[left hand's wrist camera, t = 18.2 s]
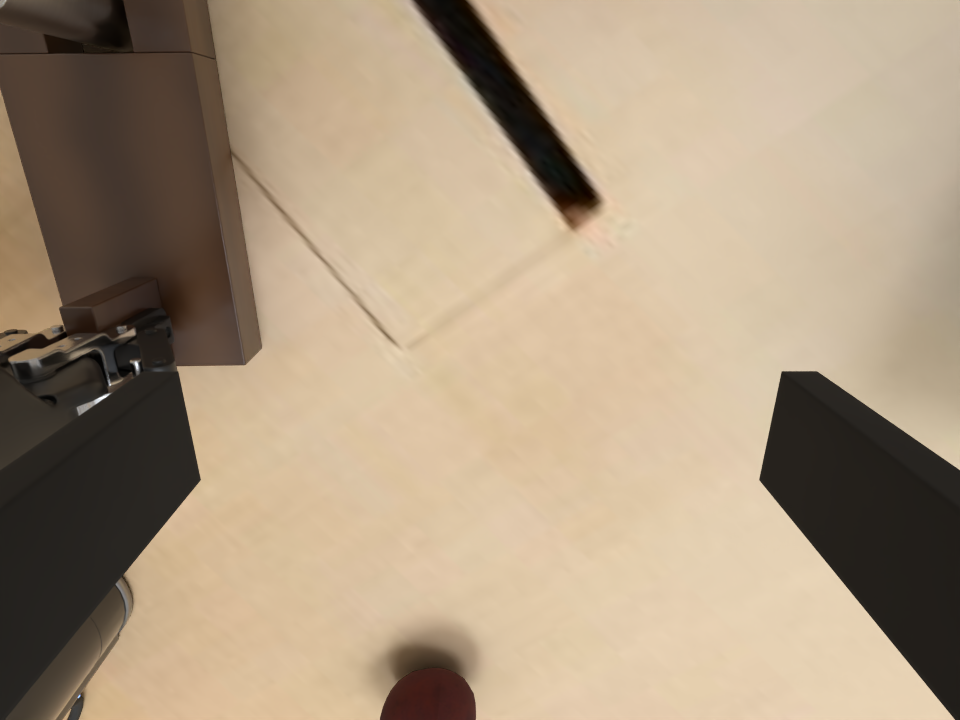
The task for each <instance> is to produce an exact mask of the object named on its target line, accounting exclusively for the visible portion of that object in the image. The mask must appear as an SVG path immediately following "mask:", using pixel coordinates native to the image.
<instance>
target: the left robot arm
mask: <svg viewBox="0 0 960 720" xmlns="http://www.w3.org/2000/svg"><path fill="white" fill-rule="evenodd" d="M200 480H201V479H200V474H199V469H198V465H197V460H196V455H195V450H194V445H193V441H192V436H191V431H190V426H189V421H188V416H187V412H186V407H185V402H184V397H183V392H182V388H181V383H180V378H179V373H178V371H143V372H141V373H140V374H139V375H137V376H136V377H134V378H133V379H131V380H130V381H128V382H127V383H126V384H124V385H123V386H121V387H120V388H118V389H117V390H115V391H114V392H113V393H111V394H110V395H108V396H107V397H105V398H104V399H102V400H101V401H100V402H98V403H97V404H95V405H94V406H92V407H91V408H89V409H88V410H87V411H85V412H84V413H82V414H81V415H79V416H78V417H76V418H75V419H74V420H72V421H71V422H69V423H68V424H66V425H65V426H63V427H62V428H61V429H59V430H58V431H56V432H55V433H53V434H52V435H50V436H49V437H48V438H46V439H45V440H43V441H42V442H40V443H39V444H37V445H36V446H35V447H33V448H32V449H30V450H29V451H27V452H26V453H24V454H23V455H22V456H20V457H19V458H17V459H16V460H14V461H13V462H11V463H10V464H9V465H7V466H6V467H4V468H3V469H1V470H0V720H5V719H6V718H7V716H8V715H9V714H10V713H11V712H12V710H13V709H14V708H15V707H16V705H17V704H18V703H19V702H20V700H21V699H22V698H23V697H24V696H25V694H26V693H27V692H28V691H29V689H30V688H31V687H32V686H33V685H34V683H35V682H36V681H37V680H38V678H39V677H40V676H41V675H42V674H43V672H44V671H45V670H46V669H47V667H48V666H49V665H50V664H51V663H52V661H53V660H54V659H55V658H56V656H57V655H58V654H59V653H60V652H61V650H62V649H63V648H64V647H65V645H66V644H67V643H68V642H69V641H70V639H71V638H72V637H73V636H74V634H75V633H76V632H77V631H78V630H79V628H80V627H81V626H82V625H83V623H84V622H85V621H86V620H87V619H88V617H89V616H90V615H91V614H92V612H93V611H94V610H95V609H96V607H97V606H98V605H99V604H100V603H101V601H102V600H103V599H104V598H105V596H106V595H107V594H108V593H109V592H110V590H111V589H112V588H113V587H114V585H115V584H116V583H117V582H118V581H119V579H120V578H121V577H122V576H123V574H124V573H125V572H126V571H127V570H128V568H129V567H130V566H131V565H132V563H133V562H134V561H135V560H136V559H137V557H138V556H139V555H140V554H141V552H142V551H143V550H144V549H145V548H146V546H147V545H148V544H149V543H150V541H151V540H152V539H153V538H154V537H155V535H156V534H157V533H158V532H159V530H160V529H161V528H162V527H163V525H164V524H165V523H166V522H167V521H168V519H169V518H170V517H171V516H172V514H173V513H174V512H175V511H176V510H177V508H178V507H179V506H180V505H181V503H182V502H183V501H184V500H185V499H186V497H187V496H188V495H189V494H190V492H191V491H192V490H193V489H194V488H195V486H196V485H197V484H198V483H199V481H200ZM759 480H760V481H761V483H762V484H763V485H764V486H765V488H766V489H767V490H768V491H769V492H770V494H771V495H772V496H773V497H774V499H775V500H776V501H777V502H778V503H779V505H780V506H781V507H782V508H783V510H784V511H785V512H786V513H787V514H788V516H789V517H790V518H791V519H792V521H793V522H794V523H795V524H796V525H797V527H798V528H799V529H800V530H801V532H802V533H803V534H804V535H805V537H806V538H807V539H808V540H809V541H810V543H811V544H812V545H813V546H814V548H815V549H816V550H817V551H818V552H819V554H820V555H821V556H822V557H823V559H824V560H825V561H826V562H827V563H828V565H829V566H830V567H831V568H832V570H833V571H834V572H835V573H836V574H837V576H838V577H839V578H840V579H841V581H842V582H843V583H844V584H845V585H846V587H847V588H848V589H849V590H850V592H851V593H852V594H853V595H854V596H855V598H856V599H857V600H858V601H859V603H860V604H861V605H862V606H863V607H864V609H865V610H866V611H867V612H868V614H869V615H870V616H871V617H872V619H873V620H874V621H875V622H876V623H877V625H878V626H879V627H880V628H881V630H882V631H883V632H884V633H885V634H886V636H887V637H888V638H889V639H890V641H891V642H892V643H893V644H894V645H895V647H896V648H897V649H898V650H899V652H900V653H901V654H902V655H903V656H904V658H905V659H906V660H907V661H908V663H909V664H910V665H911V666H912V667H913V669H914V670H915V671H916V672H917V674H918V675H919V676H920V677H921V678H922V680H923V681H924V682H925V683H926V685H927V686H928V687H929V688H930V689H931V691H932V692H933V693H934V694H935V696H936V697H937V698H938V699H939V700H940V702H941V703H942V704H943V705H944V707H945V708H946V709H947V710H948V712H949V713H950V714H951V715H952V716H953V718H954V719H955V720H960V470H959V469H957V468H956V467H954V466H953V465H951V464H950V463H949V462H947V461H946V460H944V459H943V458H941V457H940V456H938V455H937V454H936V453H934V452H933V451H931V450H930V449H928V448H927V447H925V446H924V445H923V444H921V443H920V442H918V441H917V440H915V439H914V438H912V437H911V436H910V435H908V434H907V433H905V432H904V431H902V430H901V429H899V428H898V427H897V426H895V425H894V424H892V423H891V422H889V421H888V420H886V419H885V418H884V417H882V416H881V415H879V414H878V413H876V412H875V411H873V410H872V409H871V408H869V407H868V406H866V405H865V404H863V403H862V402H860V401H859V400H858V399H856V398H855V397H853V396H852V395H850V394H849V393H847V392H846V391H845V390H843V389H842V388H840V387H839V386H837V385H836V384H834V383H833V382H832V381H830V380H829V379H827V378H826V377H824V376H823V375H821V374H820V373H819V372H817V371H782V373H781V378H780V383H779V388H778V392H777V397H776V402H775V407H774V412H773V416H772V421H771V426H770V431H769V436H768V441H767V445H766V450H765V455H764V460H763V465H762V469H761V474H760V479H759Z"/></svg>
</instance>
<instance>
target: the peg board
mask: <svg viewBox="0 0 960 720" xmlns="http://www.w3.org/2000/svg"><path fill="white" fill-rule="evenodd" d="M123 2H124V7H125V12H126V17H127V22H128V26H129V31H130V36H131V41H132V46H133V51H134V52H135V53H83V49H82V44H81V43H80V42H76V41H72V40H67V39H63V38H59V37H55V36H51V35H46V34H42V33H38V32H34V31H30V30H26V29H21V28H17V27H13V26H9V25H5V24H0V89H1V92H2V96H3V99H4V103H5V106H6V110H7V113H8V117H9V120H10V124H11V127H12V131H13V134H14V138H15V141H16V145H17V148H18V151H19V155H20V158H21V162H22V165H23V169H24V172H25V176H26V179H27V183H28V186H29V190H30V193H31V197H32V200H33V204H34V207H35V211H36V214H37V218H38V221H39V225H40V228H41V232H42V235H43V238H44V242H45V245H46V249H47V252H48V256H49V259H50V263H51V266H52V270H53V273H54V277H55V280H56V284H57V287H58V291H59V294H60V298H61V301H62V305H63V306H61V307H60V308H59V310H60V313H61V317H62V320H63V324H64V327H65V331H66V334H67V337H69V336H71V335H73V334H75V333H101V332H103V331H105V330H107V329H109V328H112V327H115V326H116V325H118V324H120V323H122V322H124V321H126V320H128V319H130V318H131V317H133V316H135V315H137V314H139V313H141V312H143V311H144V310H146V309H148V308H163V309H164V310H165V312H166V315H167V316H170V320H171V324H172V329H173V334H174V338H175V340H174V342H173V343H172V344H171V345H170V347H171V350H172V353H173V356H174V359H175V363H176V366H217V365H246V364H247V363H248V362H249V361H250V360H251V359H252V358H253V357H254V356H255V355H256V354H257V353H258V352H259V351H260V350H261V349H262V346H261V340H260V333H259V327H258V321H257V315H256V308H255V302H254V296H253V290H252V283H251V277H250V271H249V264H248V258H247V252H246V246H245V239H244V233H243V227H242V221H241V214H240V208H239V202H238V196H237V189H236V183H235V177H234V171H233V164H232V158H231V152H230V145H229V139H228V133H227V127H226V120H225V114H224V108H223V102H222V95H221V89H220V83H219V77H218V70H217V64H216V60H214V59H215V51H214V45H213V39H212V32H211V26H210V20H209V14H208V7H207V1H206V0H123Z"/></svg>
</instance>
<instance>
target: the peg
mask: <svg viewBox="0 0 960 720" xmlns="http://www.w3.org/2000/svg"><path fill="white" fill-rule="evenodd" d="M0 24H5V25H9V26H13V27H17V28H21V29H26V30H30V31H34V32H38V33H42V34H46V35H51V36H55V37H59V38H63V39H67V40H72V41H76V42H80V43H84V44H88V45H92V46H97V47H101V48H105V49H109V50H113V51H118V52H130V51H133V46H132V41H131V36H130V31H129V26H128V22H127V17H126V12H125V7H124V2H123V0H0Z"/></svg>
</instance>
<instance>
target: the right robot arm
mask: <svg viewBox="0 0 960 720" xmlns="http://www.w3.org/2000/svg"><path fill="white" fill-rule="evenodd" d="M174 340H175V338H174V334H173V329H172V324H171V320H170V316H167V315H166V312H165V310H164V309H163V308H148V309H146V310H144V311H143V312H141V313H139V314H137V315H135V316H133V317H131V318H130V319H128V320H126V321H124V322H122V323H120V324H118V325H116V326H115V327H112V328H109V329H107V330H105V331H103V332H101V333H75V334H73V335H71V336H69V337H67V334H66V331H65V327H64V326H63V325H55V326H51V327H50V328H48V329H45V330H43V331H41V332H39V333H36V334H28V332H27V331H26V330H17V329H12V330H7V331H5V332H4V333H0V470H1V469H3V468H4V467H6V466H7V465H9V464H10V463H11V462H13V461H14V460H16V459H17V458H19V457H20V456H22V455H23V454H24V453H26V452H27V451H29V450H30V449H32V448H33V447H35V446H36V445H37V444H39V443H40V442H42V441H43V440H45V439H46V438H48V437H49V436H50V435H52V434H53V433H55V432H56V431H58V430H59V429H61V428H62V427H63V426H65V425H66V424H68V423H69V422H71V421H72V420H74V419H75V418H76V417H78V416H79V415H81V414H82V413H84V412H85V411H87V410H88V409H89V408H91V407H92V406H94V405H95V404H97V403H98V402H100V401H101V400H102V399H104V398H105V397H107V396H108V395H110V394H111V393H113V392H114V391H115V390H117V389H118V388H120V387H121V386H123V385H124V384H126V383H127V382H128V381H130V380H131V379H133V378H134V377H136V376H137V375H139V374H140V373H141V372H143V371H177V367H176V363H175V359H174V356H173V353H172V350H171V347H170V345H171V344H172V343H173V342H174ZM132 604H133V603H132V596H131V593H130V590H129V588H128V586H127V584H126V582H125V581H124V579H123V578H122V577H121V578H120V579H119V581H118V582H117V583H116V584H115V585H114V587H113V588H112V589H111V590H110V592H109V593H108V594H107V595H106V596H105V598H104V599H103V600H102V601H101V603H100V604H99V605H98V606H97V607H96V609H95V610H94V611H93V612H92V614H91V615H90V616H89V617H88V619H87V620H86V621H85V622H84V623H83V625H82V626H81V627H80V628H79V630H78V631H77V632H76V633H75V634H74V636H73V637H72V638H71V639H70V641H69V642H68V643H67V644H66V645H65V647H64V648H63V649H62V650H61V652H60V653H59V654H58V655H57V656H56V658H55V659H54V660H53V661H52V663H51V664H50V665H49V666H48V667H47V669H46V670H45V671H44V672H43V674H42V675H41V676H40V677H39V678H38V680H37V681H36V682H35V683H34V685H33V686H32V687H31V688H30V689H29V691H28V692H27V693H26V694H25V696H24V697H23V698H22V699H21V700H20V702H19V703H18V704H17V705H16V707H15V708H14V709H13V710H12V712H11V713H10V714H9V715H8V716H7V718H6V719H5V720H63V718H64V717H65V716H66V714H67V713H68V711H69V710H70V709H71V712H70V715H69V717H68V720H78V719H79V717H80V714H81V712H82V708H83V698H82V697H81V696H80V694H81V693H82V691H83V690H84V688H85V687H86V685H87V684H88V683H89V681H90V680H91V678H92V677H93V675H94V674H95V673H96V671H97V670H98V668H99V667H100V665H101V664H102V663H103V661H104V660H105V658H106V657H107V655H108V654H109V653H110V651H111V650H112V648H113V647H114V645H115V644H116V643H117V641H118V640H119V636H118V633H119V632H120V631H121V630H122V628H123V627H124V626H125V624H126V623H127V621H128V620H129V618H130V615H131V612H132Z"/></svg>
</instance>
